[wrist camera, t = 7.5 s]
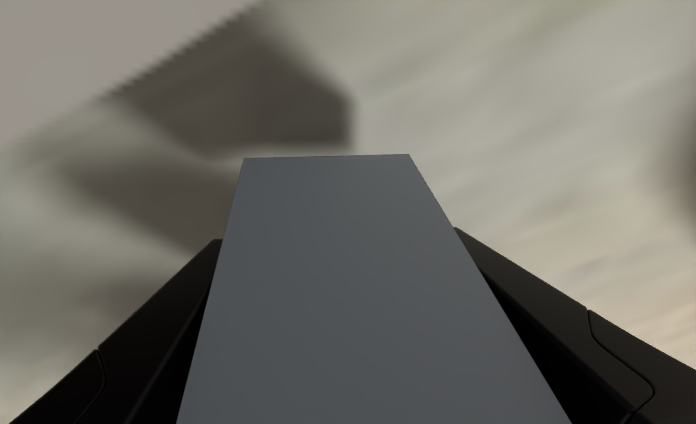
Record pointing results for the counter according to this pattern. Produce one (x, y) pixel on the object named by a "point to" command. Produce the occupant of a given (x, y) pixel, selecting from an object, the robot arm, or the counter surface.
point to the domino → (353, 308)
